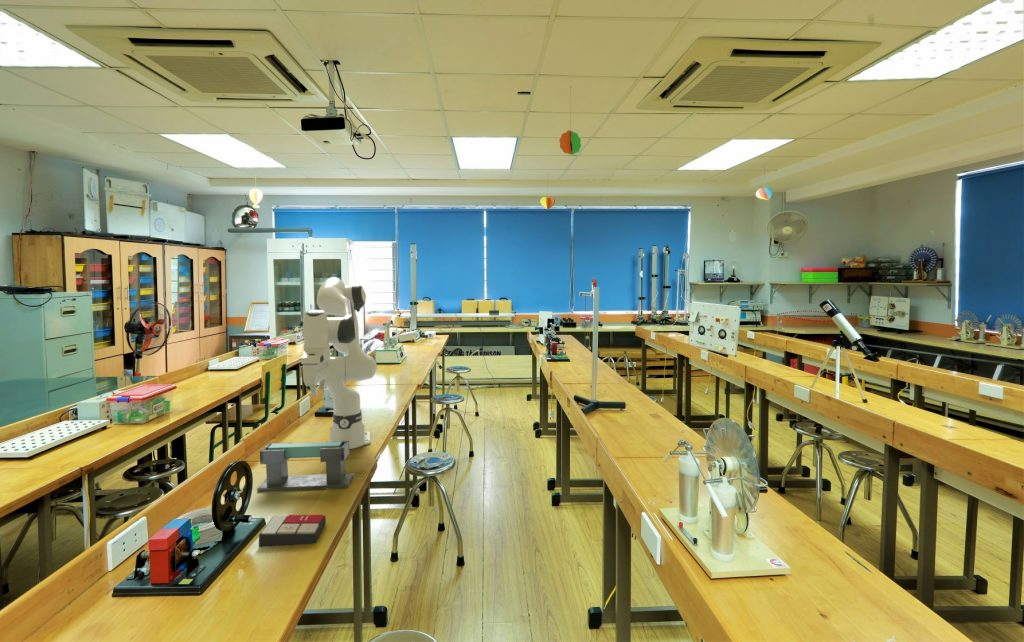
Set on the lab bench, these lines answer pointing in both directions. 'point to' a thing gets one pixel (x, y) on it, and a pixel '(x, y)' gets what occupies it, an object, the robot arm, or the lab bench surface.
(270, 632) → the lab bench surface
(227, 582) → the lab bench surface
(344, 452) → the bracket stand
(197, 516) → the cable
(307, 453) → the rail
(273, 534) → the large key keypad
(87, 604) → the lab bench surface
